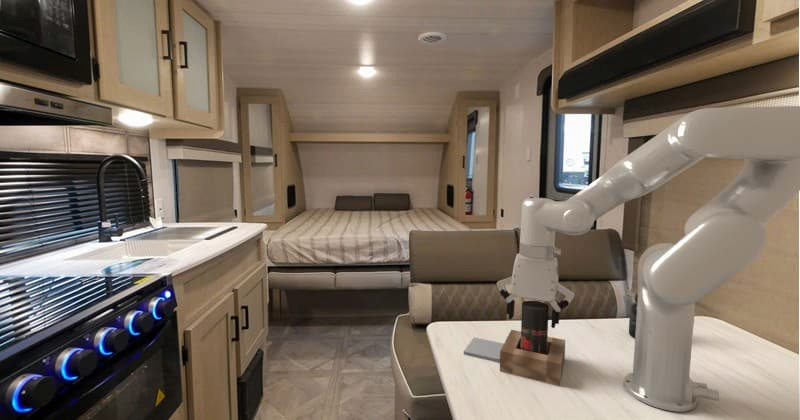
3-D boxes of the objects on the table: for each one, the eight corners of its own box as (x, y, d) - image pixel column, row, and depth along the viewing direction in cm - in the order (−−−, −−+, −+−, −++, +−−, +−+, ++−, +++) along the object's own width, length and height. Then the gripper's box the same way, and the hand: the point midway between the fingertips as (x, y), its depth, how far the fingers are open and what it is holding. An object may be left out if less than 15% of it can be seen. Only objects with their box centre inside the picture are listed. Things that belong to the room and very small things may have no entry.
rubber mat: (507, 347, 99) (507, 344, 99) (499, 362, 91) (499, 359, 91) (473, 340, 103) (473, 337, 103) (463, 354, 95) (463, 351, 95)
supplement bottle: (662, 343, 100) (665, 300, 99) (634, 341, 102) (637, 298, 100) (650, 332, 107) (653, 292, 106) (624, 330, 108) (627, 290, 107)
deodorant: (550, 371, 86) (552, 309, 85) (524, 371, 87) (526, 309, 85) (541, 359, 92) (543, 300, 91) (517, 358, 92) (518, 300, 91)
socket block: (564, 359, 92) (565, 339, 92) (560, 386, 81) (561, 364, 80) (510, 347, 98) (511, 329, 98) (499, 371, 87) (500, 350, 86)
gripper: (578, 252, 86) (572, 323, 88) (502, 244, 94) (498, 309, 96) (576, 259, 79) (570, 336, 81) (495, 249, 87) (491, 319, 89)
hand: (531, 321), depth 89 cm, fingers open, 9 cm apart
